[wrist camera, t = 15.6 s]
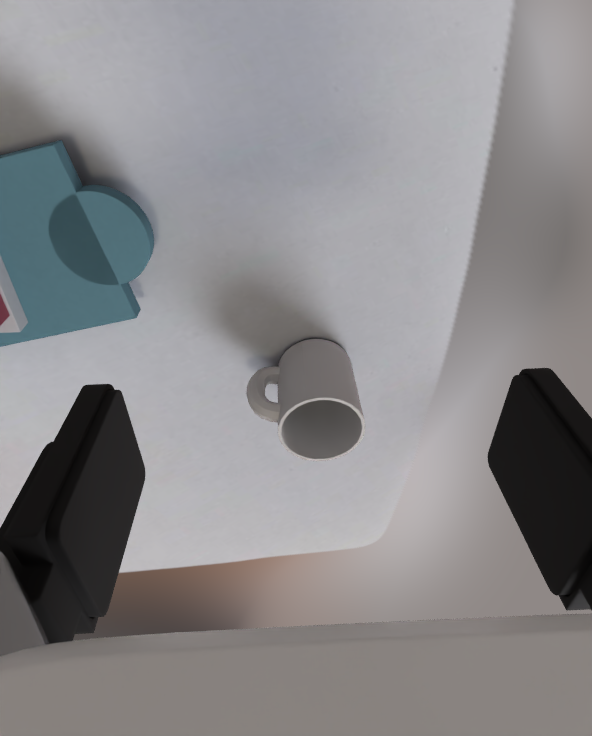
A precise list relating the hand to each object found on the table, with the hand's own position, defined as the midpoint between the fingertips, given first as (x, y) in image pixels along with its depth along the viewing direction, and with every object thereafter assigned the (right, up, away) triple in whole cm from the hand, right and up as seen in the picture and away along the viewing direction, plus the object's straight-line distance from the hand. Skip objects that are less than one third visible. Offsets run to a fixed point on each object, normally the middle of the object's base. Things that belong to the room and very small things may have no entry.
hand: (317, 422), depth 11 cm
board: (-23, +11, +26) cm, 36 cm away
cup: (0, +2, +34) cm, 34 cm away
